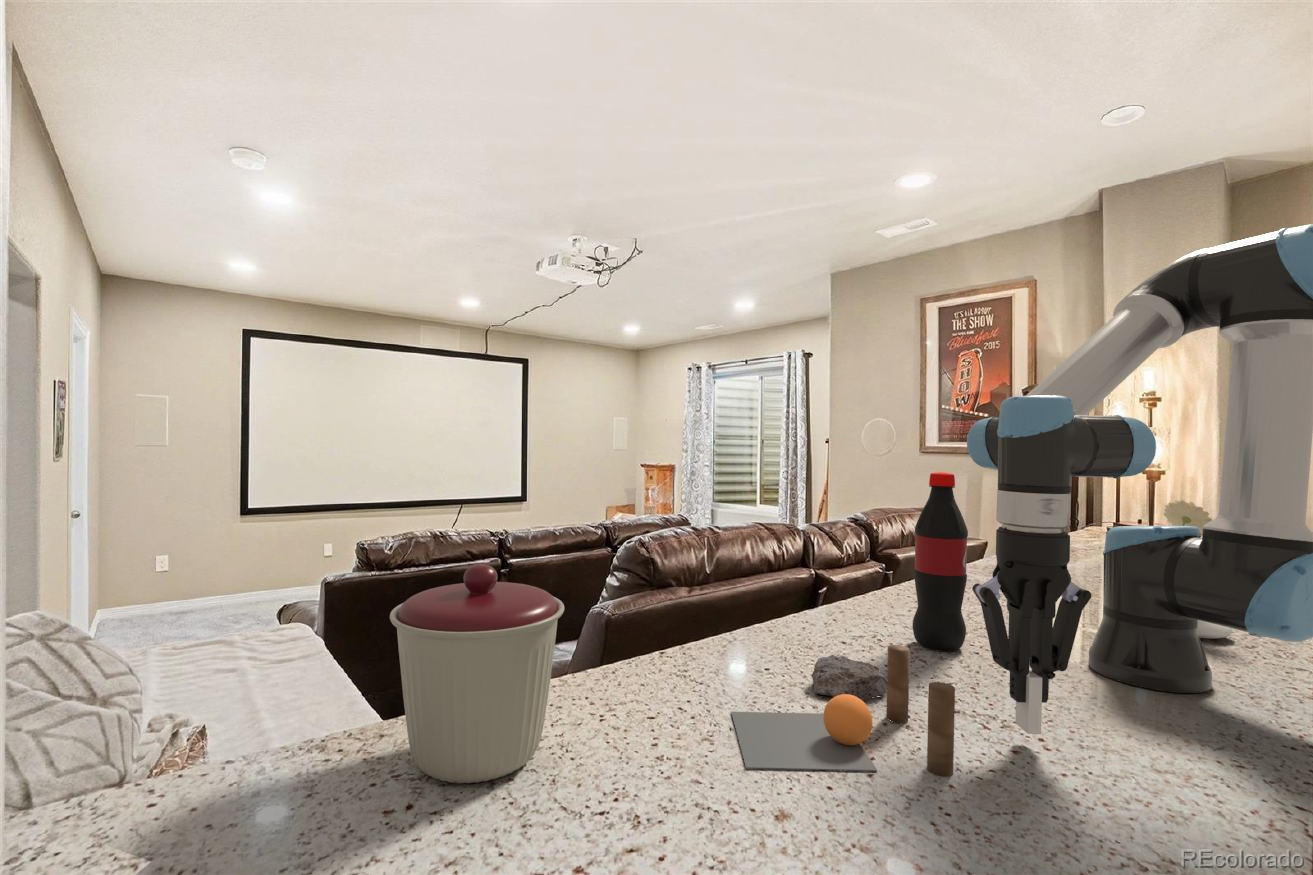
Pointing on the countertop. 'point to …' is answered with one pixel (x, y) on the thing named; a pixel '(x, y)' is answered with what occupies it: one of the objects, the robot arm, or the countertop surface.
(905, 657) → the post
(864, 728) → the ball
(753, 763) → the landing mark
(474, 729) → the canister
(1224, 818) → the countertop surface
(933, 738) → the post
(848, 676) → the rock
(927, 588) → the cola bottle
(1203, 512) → the flower in vase
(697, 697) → the countertop surface
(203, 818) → the countertop surface
